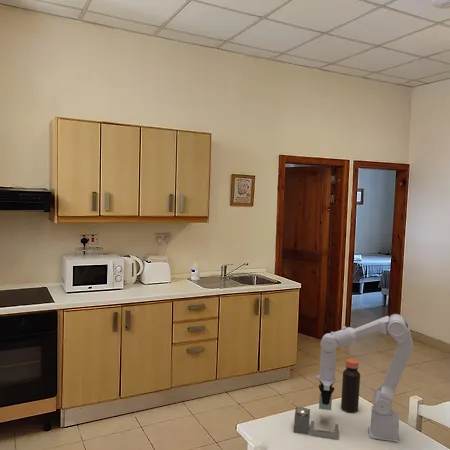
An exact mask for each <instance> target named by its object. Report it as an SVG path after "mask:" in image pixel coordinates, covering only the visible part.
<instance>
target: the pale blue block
mask: <svg viewBox="0 0 450 450" xmlns="http://www.w3.org/2000/svg"><path fill="white" fill-rule="evenodd" d="M318 402H319V403H318V409H319V410H324V411H332V402H333V394H332V395H331V398H330V402H329V405H325V404H323V403H322V395H321V393H319V401H318Z"/></svg>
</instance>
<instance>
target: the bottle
mask: <svg viewBox="0 0 450 450" xmlns="http://www.w3.org/2000/svg"><path fill="white" fill-rule="evenodd" d="M359 363H360V362H359V361H358V360H356V359H355V358H347V359H346V360H345V369H344V370H343V371H342V385H341V386H342V387H341V399H340V400H341V401H340V403H341V404H340V409H341V410H343V411H344V412H345V413H351V414H353V413H357V412H358V411H359V403H360V401H359V399H360V386H361V373H360V372H359V371H358V369H359Z"/></svg>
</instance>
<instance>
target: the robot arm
mask: <svg viewBox="0 0 450 450" xmlns="http://www.w3.org/2000/svg"><path fill="white" fill-rule="evenodd" d="M374 333H381V334H384V335H387V333H388V334H389V335H390V337H392V338H393V340H395V342H396V343H397V348H396V349H395V352H394V355H393V356H392V360H391V362H390V364H389V366H388V369H387V371H386V373H385V376H384V379H383V381H382V382H381V384H380V386H379V387H378V388H377V389H376V390H375V391H374V393H373V403H372V406H371V414H370V417H371V418H370V425H368V426H367V429H368V433H369V438H370V439H375V440H381V441H389V442H395V443H396V442H397V443H398V442H399V427H400V416H399V413H398V412H397V411H393V405H392V403H393V400H394V397H395V391H396V389H397V387H398V385H399V382H400V380H401V377H402V375H403V373H404V371H405V368H406V366H407V363H408V361H409V359H410V357H411V354H412V351H413V350H414V342H413V337H412V333H411V329H410V326H409V323H408V322H407V320H406V319H405V318H404V316H402V315H401V314H398V313H393V314H391V315H390V316H389V315H387V316H383V317H380V318H378V319H375V320H373V321H370V322H368V323H365V324H363V325H360V326H357V327H356V328H353V327H351V326H348V327H347V326H346V325H345V326H343V327H342V329H340V330H337V331H330V333H328V332H327V333H325V334H324V335H323V336H322V338H321V340H320V342H319V343H320V344H319V346H320V356H319V357H320V358H319V359H320V360H319V374H317V375H316V377H315V379H316V380H319V383H320V384H319V385H318V390H319V391H320V394H321V395H322V403H323V404H325V405H329V402H330V398H331V395H332V396H333V393H334V392H335V387H333V385H334V384H335V382H336V362H337V361H336V360H337V353H336V352H337V348H341V347H345V346H348V345H351V344H353V343H356V342H357V339H358V338H361V337H364V336H368V335H371V334H374Z"/></svg>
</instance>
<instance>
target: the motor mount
mask: <svg viewBox="0 0 450 450" xmlns="http://www.w3.org/2000/svg"><path fill="white" fill-rule="evenodd" d="M310 419H311V409H310V408H307V407H305V406H304V407H303V406H302V407H301V406H300V407H298V406H296V407H295V411H294V419H293V421H294V422H293V424H294V425H293V433H297V434H304V435H309V434H310V435H309V436H311V437H315V438H316V437H318V438H323V439H324V438H325V439H329V440H336V441H337V440H338V441H339V440H340V427H339V424H338V423H334V431H330V430H329V431H328V430H323V429H317V428H315V420H311V421H310ZM309 430H310V431H309Z"/></svg>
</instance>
